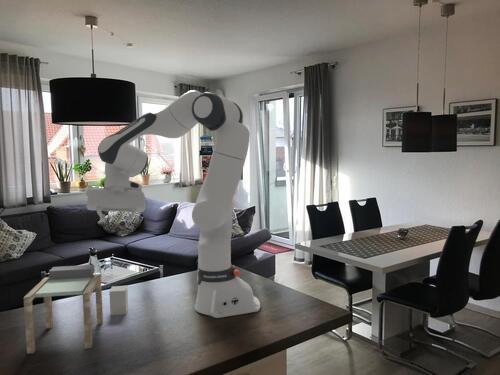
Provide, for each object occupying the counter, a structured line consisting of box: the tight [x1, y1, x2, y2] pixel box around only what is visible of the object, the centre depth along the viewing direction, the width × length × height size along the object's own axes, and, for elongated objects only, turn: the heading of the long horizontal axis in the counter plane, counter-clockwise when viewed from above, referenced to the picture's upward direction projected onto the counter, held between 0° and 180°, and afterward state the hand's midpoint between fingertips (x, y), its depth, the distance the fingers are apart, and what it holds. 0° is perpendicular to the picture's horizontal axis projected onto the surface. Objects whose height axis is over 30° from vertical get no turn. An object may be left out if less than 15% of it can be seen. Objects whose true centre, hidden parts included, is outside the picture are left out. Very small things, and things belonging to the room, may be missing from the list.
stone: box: [109, 285, 129, 316], centre depth 133 cm, size 5×5×8 cm
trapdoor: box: [35, 264, 95, 298], centre depth 116 cm, size 12×16×4 cm
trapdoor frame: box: [23, 273, 104, 355], centre depth 115 cm, size 16×17×16 cm
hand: (116, 220), depth 140 cm, fingers open, 8 cm apart
